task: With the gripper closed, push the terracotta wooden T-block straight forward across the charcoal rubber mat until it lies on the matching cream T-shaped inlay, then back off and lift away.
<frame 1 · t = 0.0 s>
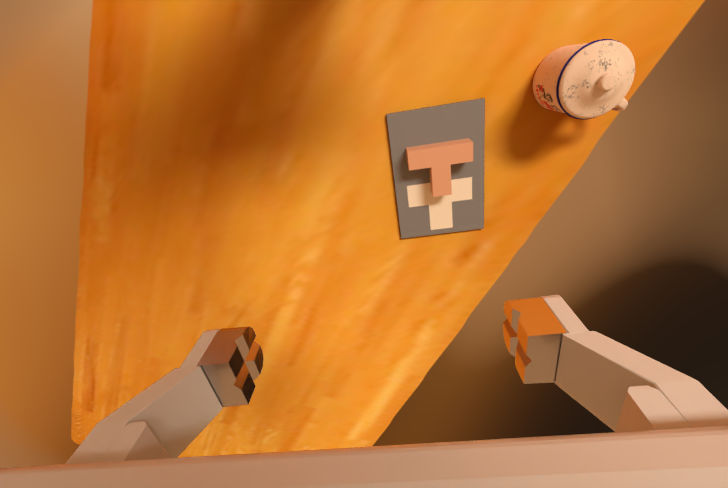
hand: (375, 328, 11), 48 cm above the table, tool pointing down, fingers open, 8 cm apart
teacup with lid: (568, 84, 50), on the table
t block: (438, 167, 56), point 1 cm above the table, touching t mat
t mat: (438, 174, 57), on the table
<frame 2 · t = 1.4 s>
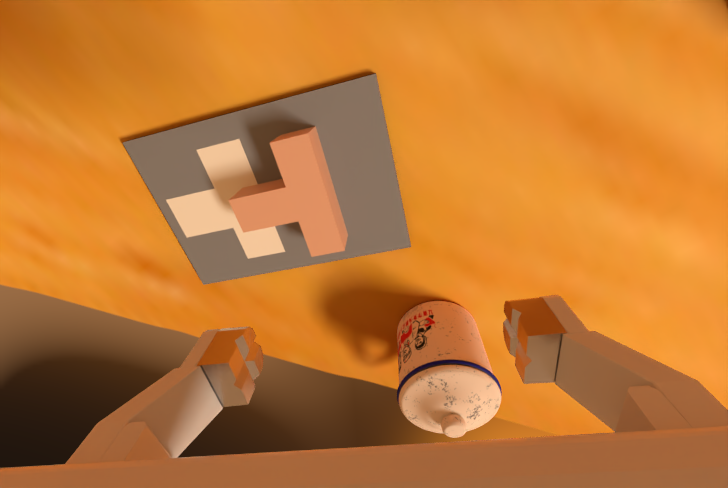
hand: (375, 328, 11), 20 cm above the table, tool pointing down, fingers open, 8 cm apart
teacup with lid: (429, 337, 38), on the table
t block: (290, 194, 30), point 1 cm above the table, touching t mat
t mat: (276, 195, 30), on the table
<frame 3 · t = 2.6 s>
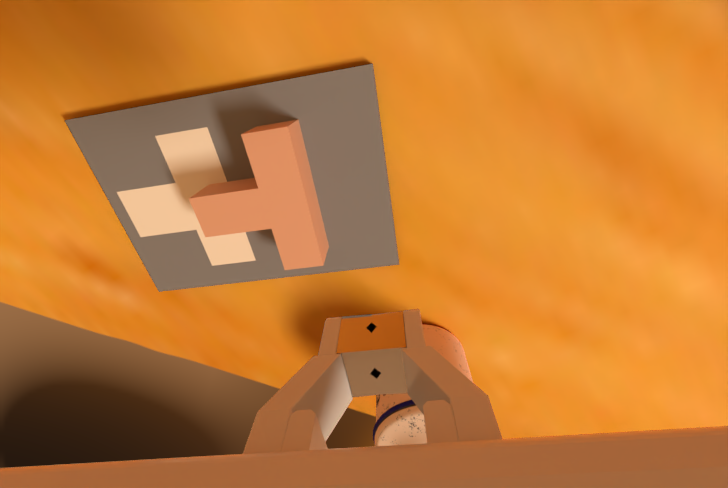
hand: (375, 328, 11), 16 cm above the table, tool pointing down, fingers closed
teacup with lid: (412, 362, 34), on the table
t block: (264, 195, 26), point 1 cm above the table, touching t mat
t mat: (248, 195, 26), on the table
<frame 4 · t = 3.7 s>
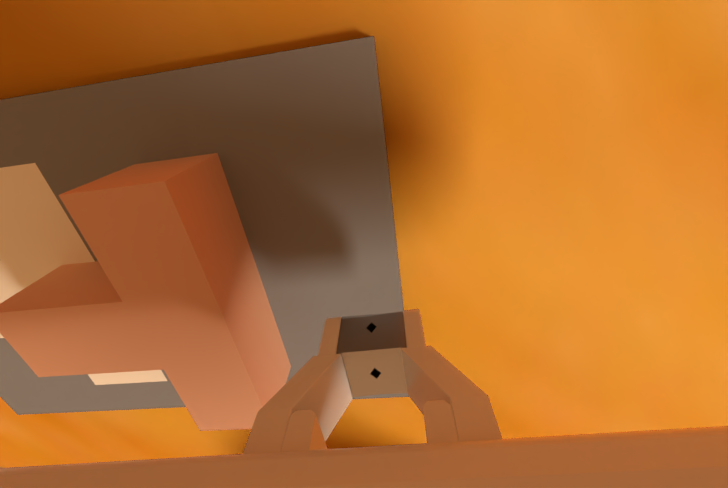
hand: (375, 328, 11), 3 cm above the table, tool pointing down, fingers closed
t block: (168, 286, 14), point 1 cm above the table, touching t mat
t mat: (144, 281, 14), on the table
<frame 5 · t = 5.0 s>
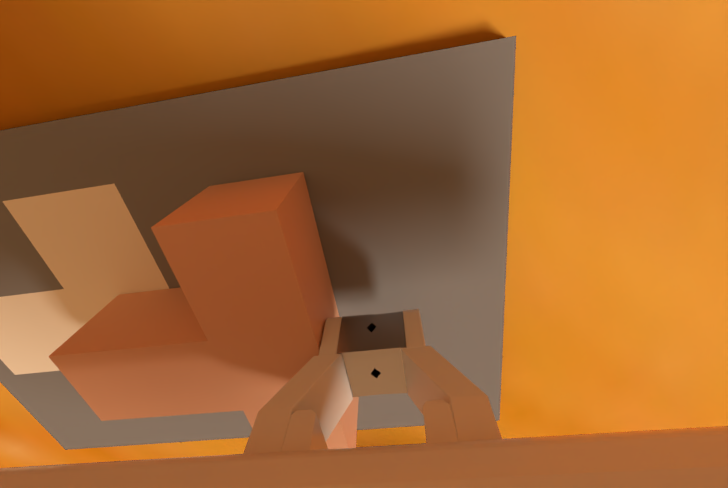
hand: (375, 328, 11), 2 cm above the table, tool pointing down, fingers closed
t block: (233, 315, 13), point 1 cm above the table, touching gripper
t mat: (216, 306, 13), on the table
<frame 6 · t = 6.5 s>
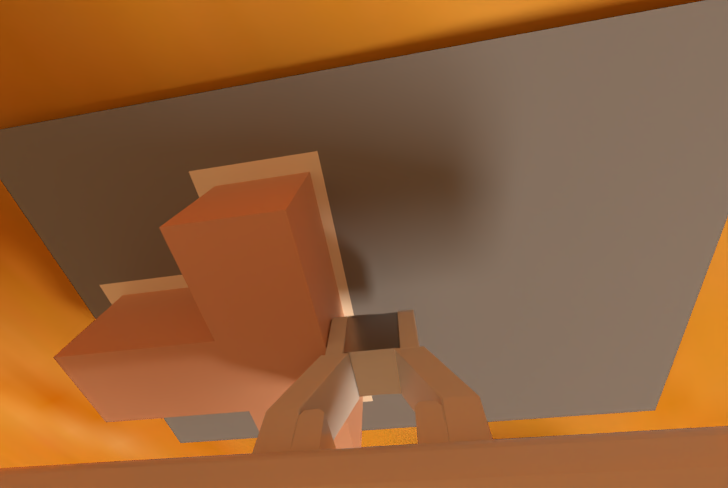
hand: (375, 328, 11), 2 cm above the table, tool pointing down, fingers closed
t block: (238, 315, 13), point 1 cm above the table, touching gripper, t mat
t mat: (378, 289, 13), on the table
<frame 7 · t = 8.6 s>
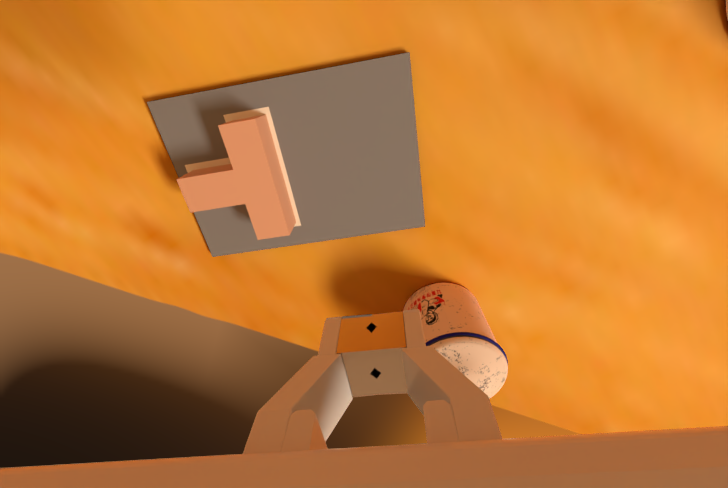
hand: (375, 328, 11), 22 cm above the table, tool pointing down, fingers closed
teacup with lid: (432, 319, 39), on the table
t block: (240, 179, 31), point 1 cm above the table, touching t mat
t mat: (298, 167, 31), on the table
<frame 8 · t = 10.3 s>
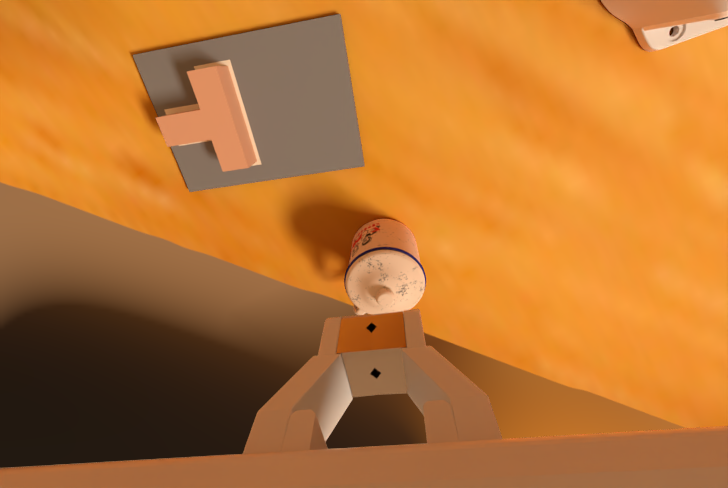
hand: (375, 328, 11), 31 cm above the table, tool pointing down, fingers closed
teacup with lid: (378, 254, 46), on the table
t block: (209, 122, 37), point 1 cm above the table, touching t mat
t mat: (257, 113, 37), on the table
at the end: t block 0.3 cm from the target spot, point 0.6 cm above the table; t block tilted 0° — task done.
